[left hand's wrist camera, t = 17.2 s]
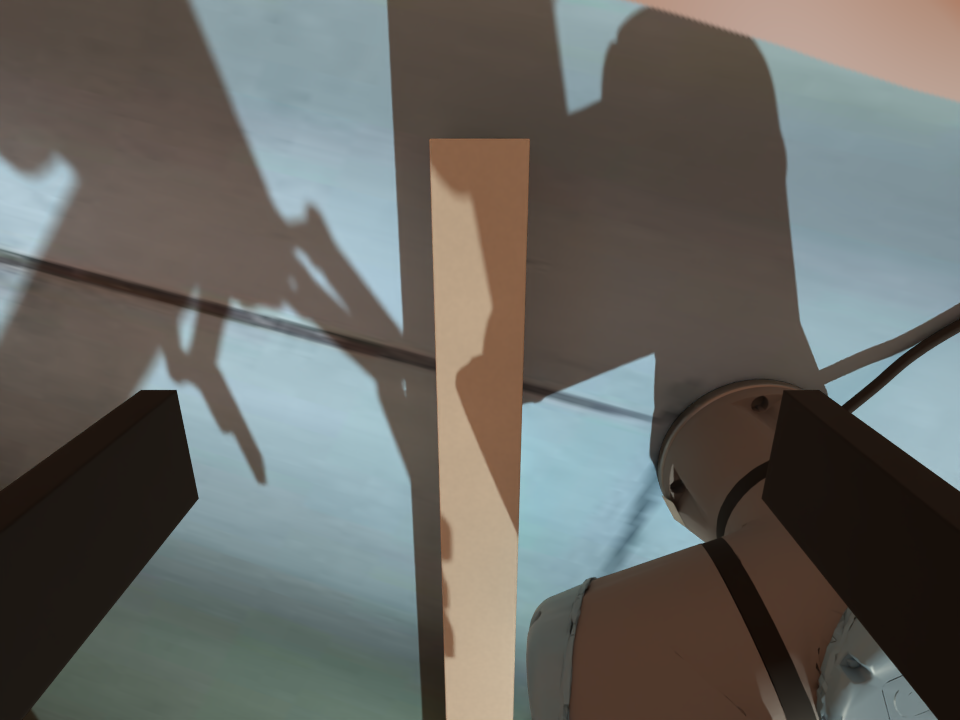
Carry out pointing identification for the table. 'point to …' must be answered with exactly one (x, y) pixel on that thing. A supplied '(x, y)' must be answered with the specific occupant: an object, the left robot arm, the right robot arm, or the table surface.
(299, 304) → the table surface
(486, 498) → the post
